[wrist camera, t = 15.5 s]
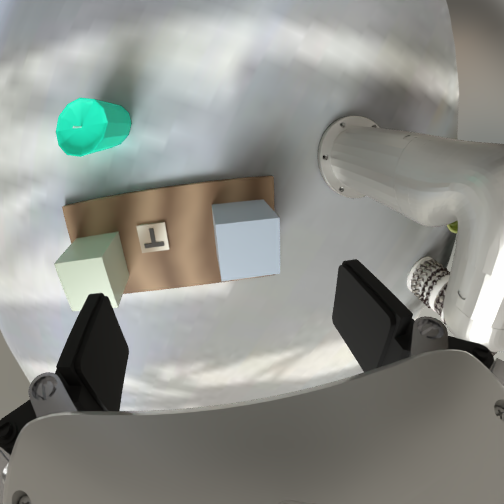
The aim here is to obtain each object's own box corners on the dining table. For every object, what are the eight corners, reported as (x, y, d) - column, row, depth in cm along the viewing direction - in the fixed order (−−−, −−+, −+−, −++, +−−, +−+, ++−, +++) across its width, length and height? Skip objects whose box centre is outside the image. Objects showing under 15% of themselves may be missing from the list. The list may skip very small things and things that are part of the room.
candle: (118, 155, 32) (84, 168, 21) (83, 137, 30) (39, 145, 19) (139, 114, 30) (113, 109, 20) (103, 97, 28) (64, 87, 17)
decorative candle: (411, 300, 54) (480, 373, 32) (400, 275, 50) (483, 354, 28) (438, 274, 53) (512, 338, 31) (430, 246, 49) (517, 312, 27)
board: (271, 175, 37) (274, 177, 36) (273, 271, 44) (276, 276, 42) (64, 205, 33) (60, 208, 32) (91, 293, 39) (88, 298, 38)
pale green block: (118, 231, 35) (101, 257, 28) (129, 275, 38) (118, 307, 31) (76, 238, 34) (54, 264, 27) (89, 280, 37) (72, 311, 30)
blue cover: (263, 199, 37) (279, 217, 30) (264, 246, 41) (280, 273, 33) (211, 204, 36) (215, 224, 29) (216, 252, 40) (221, 281, 32)
